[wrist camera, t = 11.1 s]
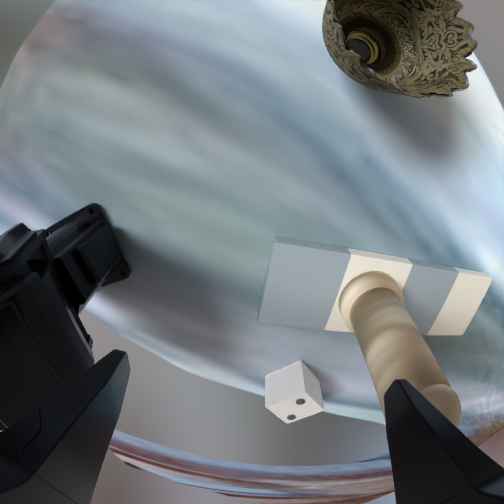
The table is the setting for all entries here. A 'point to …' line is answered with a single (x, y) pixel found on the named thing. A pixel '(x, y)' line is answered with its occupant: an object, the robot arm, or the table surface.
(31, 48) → the table surface
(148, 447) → the table surface
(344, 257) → the board
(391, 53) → the cup
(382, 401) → the round-topped post
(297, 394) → the die
